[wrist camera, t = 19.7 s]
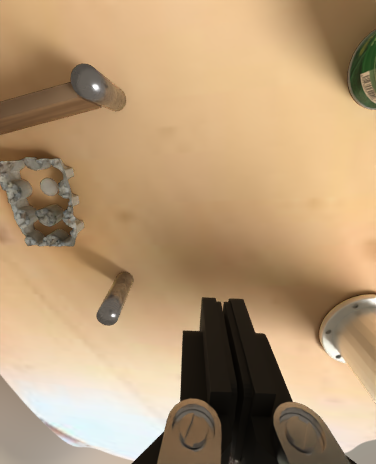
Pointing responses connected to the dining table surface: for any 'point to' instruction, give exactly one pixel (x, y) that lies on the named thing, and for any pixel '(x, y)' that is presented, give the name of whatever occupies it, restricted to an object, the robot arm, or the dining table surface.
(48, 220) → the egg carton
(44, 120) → the gate
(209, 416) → the robot arm
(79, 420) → the dining table surface
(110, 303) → the gate posts
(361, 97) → the canned tomato
